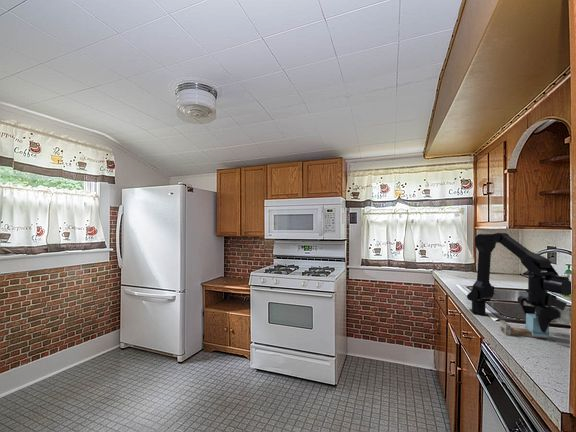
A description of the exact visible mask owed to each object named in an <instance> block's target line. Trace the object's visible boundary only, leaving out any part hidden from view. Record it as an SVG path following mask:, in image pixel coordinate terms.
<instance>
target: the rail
mask: <svg viewBox="0 0 576 432" xmlns="http://www.w3.org/2000/svg"><path fill="white" fill-rule="evenodd" d="M499 330H500V331H501V332H502V333H503V334H504V335H506V336H511V335H513V336H520V337H527V338H536V339H545V340H547V339H548V338H546V337H538V336H533V335H532V332H531V331H530V330H528V329H526V328H520V327H519V328H518V327H514V326H513V327H511V325H510V324H509V323H508V322H507V321H506V320H503V319H499Z"/></svg>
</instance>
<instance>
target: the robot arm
mask: <svg viewBox="0 0 576 432" xmlns="http://www.w3.org/2000/svg"><path fill="white" fill-rule="evenodd" d="M498 243H499V244H501V245H502V246H503V247H504V248H506V249H507V250H508V251H510V252H511V253H512V254H513V255H514V256H516V257H517V258H518V259H519V261H520V262H521V264H522V266H524V267H525V269H526V271H525V272H523V273H522V276H526V277H527V280H528V281H527V284H528V285H527V288H526V289H525V292H526V293H527V296H526V295H525V296H523V295H519V296H518V297H517V303H518V305H519V306H520V308H521V310H522V312H523V314H524V315H525V317H526V313H528V314H535V315H536V318H537V321H538V323H539V326H540V329H541V331H542V332H546V330H547V328H548V326H549V327H550V324H551V322H552V321H554V320H558V319H561V317H562V315H561V314H562V313H561V311H564V310H565V309H566V307H567V304H568V303H567V302H565V301H563V300H560V299H558V298H557V296H556V295H554V294H553V293H555V294H558V295H563V296H570V295H572V294H571V282H572V281H571V280H570V277H569V276H565V275H563V276H562V275H560V274H558V272H557V271H556V269H555V268H554V267H553V266H552V264H551V263H552V262H551V260H549V259H548V258H547V257H545V256H543V255H541V254H539V253H536V252H533V251H531V250H530V249H528V248H527V247H525V246H524V245H522V243H519V241H517V240H515V239H514V238H513V237H511V236H510V235H509V233H506V232H496V233H478V234H477V235H475V237H474V244H475V248H476V249H477V251H478V255H477V257H478V258H477V273H476V281H475V282H474V283H473V285H472V288H471V291H470V292H469V293H468V294H467V295H466V298H467V300H469V301H471V308H469V309H468V310H469V312H471V314H473V315H480V316H489V313H487V312H486V308H487V307H486V305H487V302H491V301H492V298H493V296H494V295H495V286H494V285H492V284H491V283H490V278H491V277H490V276H491V275H490V273H491V259H492V253H493V251H494V249H495V248H496V245H497V244H498ZM546 306H548V307H546ZM559 309H560V311H559ZM535 311H536V313H537V314H536V313H535Z"/></svg>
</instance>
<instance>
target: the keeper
mask: <svg viewBox="0 0 576 432" xmlns="http://www.w3.org/2000/svg"><path fill="white" fill-rule="evenodd" d="M525 329H528V330H530V331H531V332H532V335H533V336H538V337H546V338H547V339H549V338H550V325H549V326H548V328H547V330H546V332H542V331H541V329H540V326H539V323H538V321H537V318H536V315H535V314H528V313H526V316H525Z"/></svg>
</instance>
